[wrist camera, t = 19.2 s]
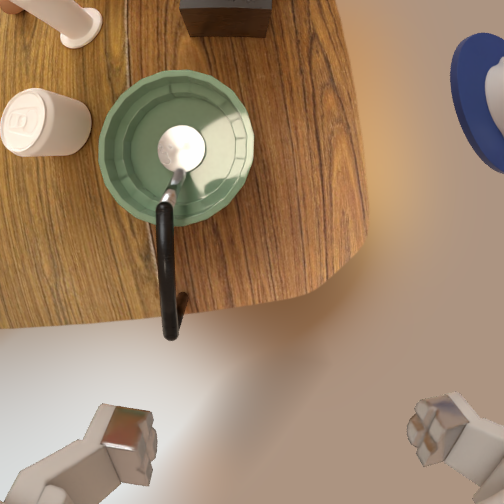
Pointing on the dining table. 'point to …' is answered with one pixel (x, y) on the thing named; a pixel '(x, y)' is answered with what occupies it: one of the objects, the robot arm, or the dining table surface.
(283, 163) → the dining table surface
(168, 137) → the black and silver ladle
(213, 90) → the bowl
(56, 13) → the candle
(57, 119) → the beverage can
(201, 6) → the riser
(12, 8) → the egg
